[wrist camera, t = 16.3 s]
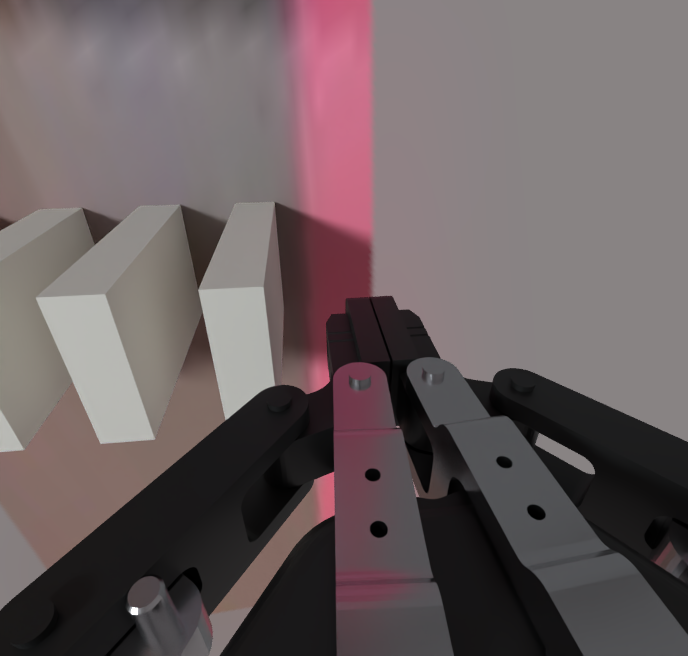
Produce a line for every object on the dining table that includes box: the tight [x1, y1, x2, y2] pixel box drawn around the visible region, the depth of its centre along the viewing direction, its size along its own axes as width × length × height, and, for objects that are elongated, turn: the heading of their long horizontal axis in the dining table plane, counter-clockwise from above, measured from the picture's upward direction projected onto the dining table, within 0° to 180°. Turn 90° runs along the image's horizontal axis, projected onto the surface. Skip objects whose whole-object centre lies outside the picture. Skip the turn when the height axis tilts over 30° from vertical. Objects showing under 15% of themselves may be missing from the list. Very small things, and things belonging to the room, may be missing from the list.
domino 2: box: [36, 205, 203, 444], centre depth 15 cm, size 5×2×8 cm, turn 0°
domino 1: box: [0, 208, 95, 452], centre depth 14 cm, size 5×2×8 cm, turn 0°
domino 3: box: [198, 202, 284, 420], centre depth 15 cm, size 5×2×8 cm, turn 0°
